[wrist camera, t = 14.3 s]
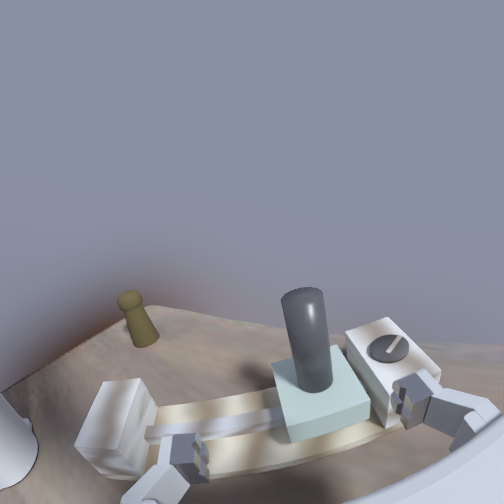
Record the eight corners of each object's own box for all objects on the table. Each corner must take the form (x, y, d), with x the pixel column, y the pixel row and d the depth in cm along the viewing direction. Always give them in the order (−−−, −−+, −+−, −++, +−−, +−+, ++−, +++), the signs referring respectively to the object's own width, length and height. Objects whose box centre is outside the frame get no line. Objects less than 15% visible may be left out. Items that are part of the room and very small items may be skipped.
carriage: (293, 450, 23) (262, 340, 19) (278, 389, 33) (250, 286, 29) (369, 426, 23) (370, 309, 19) (339, 371, 33) (326, 266, 29)
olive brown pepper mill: (147, 330, 59) (129, 285, 56) (165, 334, 56) (146, 286, 53) (128, 344, 54) (107, 298, 51) (145, 350, 51) (123, 300, 48)
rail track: (105, 478, 22) (70, 442, 20) (125, 415, 34) (101, 378, 32) (431, 412, 23) (442, 365, 21) (387, 356, 34) (387, 312, 32)
